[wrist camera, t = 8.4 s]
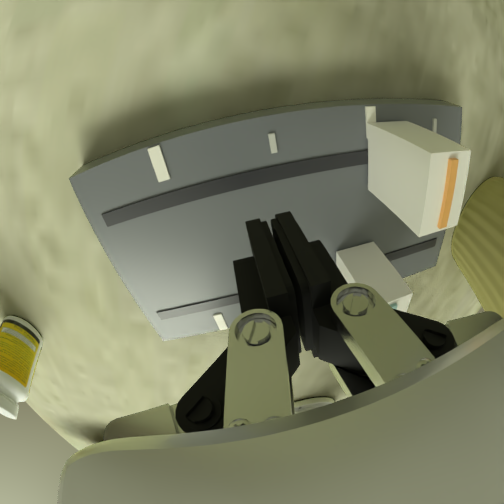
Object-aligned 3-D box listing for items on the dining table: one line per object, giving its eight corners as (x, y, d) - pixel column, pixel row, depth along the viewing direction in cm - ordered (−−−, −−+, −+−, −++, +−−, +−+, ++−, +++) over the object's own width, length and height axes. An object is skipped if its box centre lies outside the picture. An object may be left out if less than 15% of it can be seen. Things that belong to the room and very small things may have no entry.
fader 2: (404, 182, 15) (459, 227, 11) (367, 189, 15) (421, 239, 11) (406, 120, 12) (473, 152, 8) (367, 123, 12) (434, 155, 8)
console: (423, 252, 22) (436, 266, 20) (164, 321, 22) (163, 342, 20) (442, 100, 13) (463, 107, 12) (82, 165, 13) (68, 179, 11)
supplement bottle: (-1, 307, 18) (-33, 387, 10) (40, 323, 20) (14, 411, 12) (9, 336, 20) (-13, 408, 13) (47, 351, 22) (29, 428, 15)
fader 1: (368, 283, 20) (399, 335, 15) (334, 293, 19) (362, 349, 15) (373, 241, 17) (414, 295, 13) (336, 251, 17) (372, 311, 13)
